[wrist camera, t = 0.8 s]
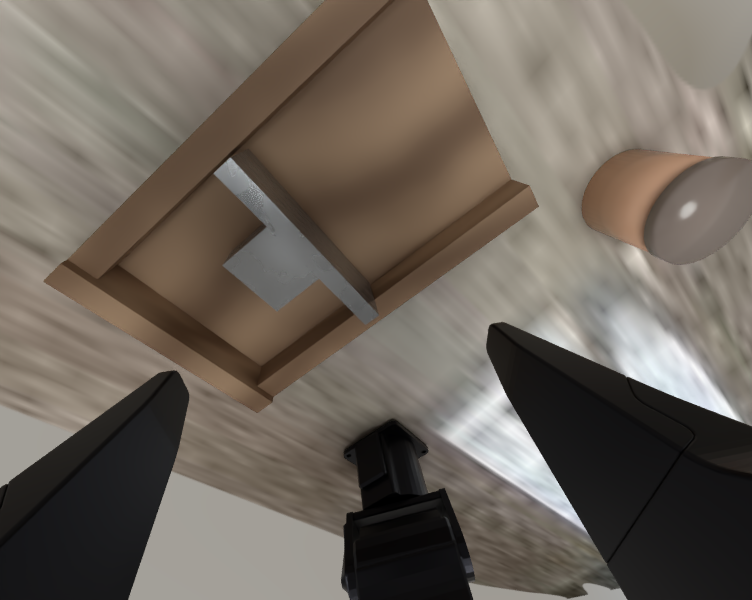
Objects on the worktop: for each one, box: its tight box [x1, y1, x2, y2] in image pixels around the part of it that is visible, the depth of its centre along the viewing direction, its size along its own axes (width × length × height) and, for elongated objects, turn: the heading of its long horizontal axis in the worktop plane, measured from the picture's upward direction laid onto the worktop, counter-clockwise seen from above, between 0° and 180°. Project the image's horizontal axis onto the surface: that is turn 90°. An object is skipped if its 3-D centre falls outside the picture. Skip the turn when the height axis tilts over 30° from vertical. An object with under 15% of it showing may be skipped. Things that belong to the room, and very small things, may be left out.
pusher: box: [213, 149, 379, 325], centre depth 18 cm, size 10×5×4 cm, turn 37°
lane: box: [43, 0, 539, 413], centre depth 19 cm, size 14×23×4 cm, turn 127°
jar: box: [582, 149, 752, 265], centre depth 20 cm, size 6×6×6 cm
